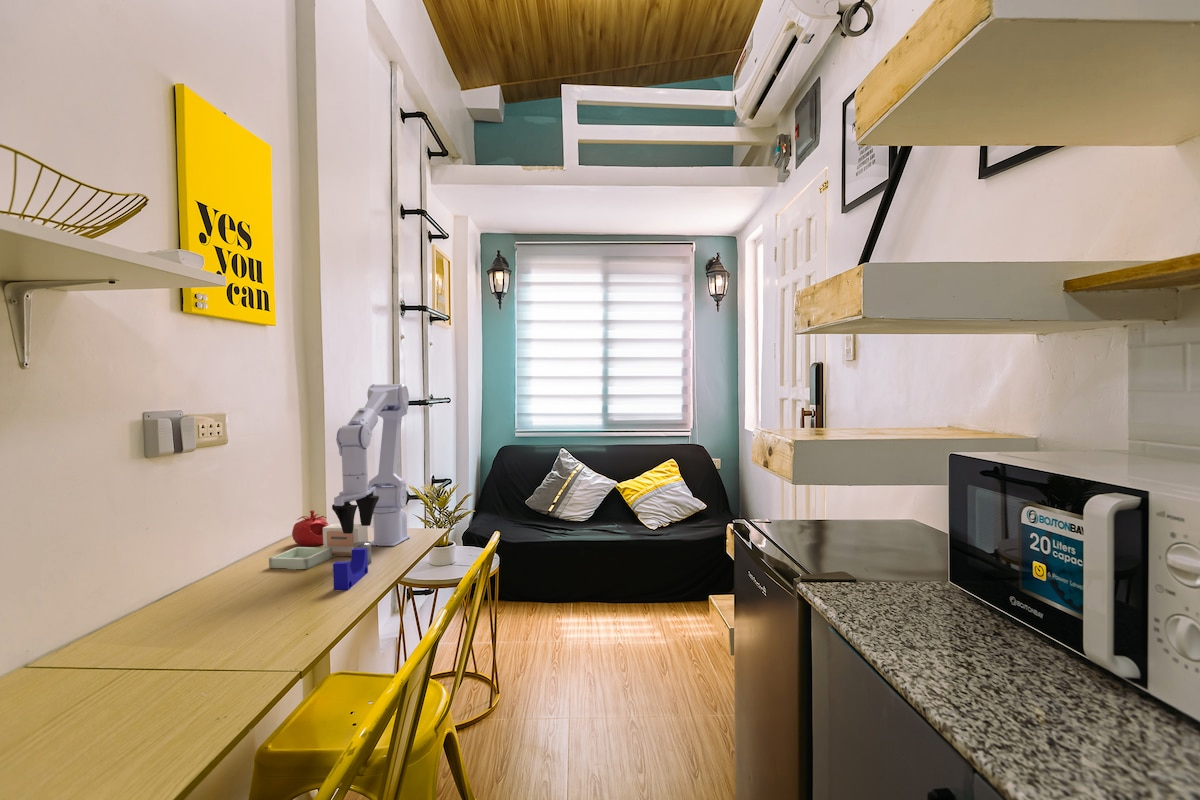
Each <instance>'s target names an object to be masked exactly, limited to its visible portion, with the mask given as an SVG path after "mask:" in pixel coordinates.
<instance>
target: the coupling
mask: <svg viewBox="0 0 1200 800" xmlns="http://www.w3.org/2000/svg"><path fill="white" fill-rule="evenodd" d="M371 542H372V541H369V540H368V541H363V542H357V543H354V544H353V549H354V548H367V556H368V566H369V565H371V564H372V562H373V561H372V551H371V548H372V545H371Z"/></svg>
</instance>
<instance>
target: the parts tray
mask: <svg viewBox="0 0 1200 800" xmlns="http://www.w3.org/2000/svg"><path fill="white" fill-rule="evenodd" d="M329 558H330V559H332V558H333V556H332V548H323V547H318V546H317V547H316V546H296V547H293V548H291V549H289V550H285V551H283V552H281V553H279V554H276V555H273V556H271V557H269V558H268V567H269V568H288V569H287V570H296V569H307V570H309V569H311V568H313V566H314V567H315V565H316V566H317V564H318V565H320V564H322V563H324V562H326V561H328V560H330V559H329ZM325 560H326V561H325ZM323 561H324V562H323ZM321 562H322V563H321ZM319 563H320V564H319ZM269 568H268V569H269ZM308 568H309V569H308Z"/></svg>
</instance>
